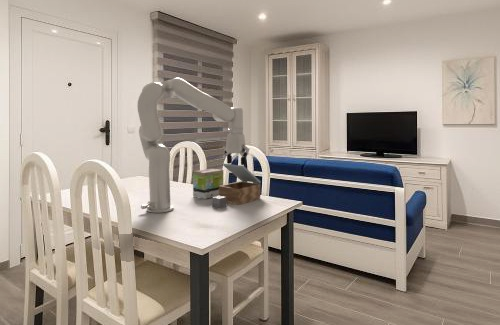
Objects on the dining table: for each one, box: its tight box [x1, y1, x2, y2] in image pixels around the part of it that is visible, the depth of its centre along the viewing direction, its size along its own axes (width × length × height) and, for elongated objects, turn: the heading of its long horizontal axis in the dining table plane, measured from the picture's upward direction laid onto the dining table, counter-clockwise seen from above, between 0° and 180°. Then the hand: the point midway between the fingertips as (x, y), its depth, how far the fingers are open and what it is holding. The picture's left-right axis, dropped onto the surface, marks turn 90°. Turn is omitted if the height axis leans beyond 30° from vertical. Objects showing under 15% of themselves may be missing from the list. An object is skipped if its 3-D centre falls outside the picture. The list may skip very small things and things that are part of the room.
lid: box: [222, 163, 262, 184], centre depth 188 cm, size 18×14×1 cm
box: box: [219, 180, 261, 205], centre depth 188 cm, size 18×14×8 cm
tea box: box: [192, 168, 224, 200], centre depth 197 cm, size 15×10×15 cm, turn 143°
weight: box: [211, 196, 227, 209], centre depth 173 cm, size 5×5×5 cm
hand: (236, 163), depth 183 cm, fingers open, 9 cm apart
